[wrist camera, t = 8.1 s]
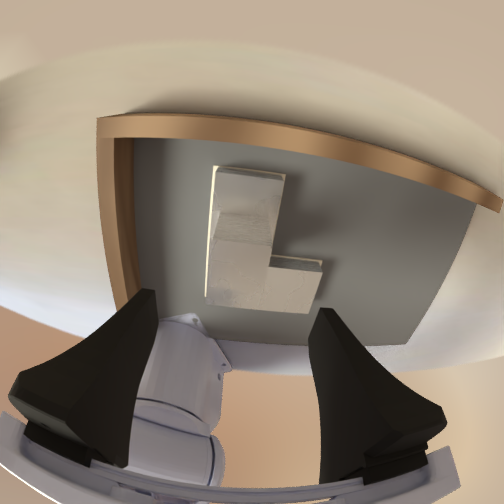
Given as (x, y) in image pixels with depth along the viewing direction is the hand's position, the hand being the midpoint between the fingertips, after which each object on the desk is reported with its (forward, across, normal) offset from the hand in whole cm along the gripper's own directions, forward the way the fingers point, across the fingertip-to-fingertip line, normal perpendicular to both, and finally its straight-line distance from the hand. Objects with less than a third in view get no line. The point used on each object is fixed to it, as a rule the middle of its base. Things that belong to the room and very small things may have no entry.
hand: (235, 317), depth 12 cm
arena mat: (+9, -6, +2) cm, 11 cm away
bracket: (+8, -2, +1) cm, 9 cm away
